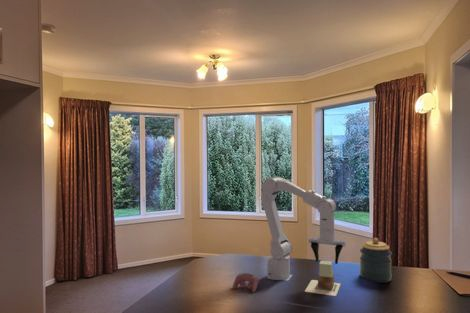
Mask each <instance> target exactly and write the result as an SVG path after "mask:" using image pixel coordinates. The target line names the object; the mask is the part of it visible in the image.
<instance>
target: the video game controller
mask: <svg viewBox="0 0 470 313" xmlns="http://www.w3.org/2000/svg"><path fill="white" fill-rule="evenodd" d="M246 282H247V284H246ZM259 282H260V281H259V278H258V277H257V276H255V275H253V274H251V273H247V272H246V273H245V272H244V273H239V274H238V275H236V277H235V279H234V281H233V285H232V289H233V290H236V289H237V288H238V286H240V288H242V289H244V288H246V287H247V289H249V290H251V292H252V293H255V292H256V291H257V287H258V284H259Z"/></svg>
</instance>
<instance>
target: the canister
mask: <svg viewBox="0 0 470 313" xmlns="http://www.w3.org/2000/svg"><path fill="white" fill-rule="evenodd" d="M361 246H362V247H361V248H360V250H359V252H360V256H359V262H360V264H359V266H360V267H359V276H360V278H361V279H364V280H366V281H369V282H374V283H379V284H386V283H390V282H391V280H392V277H393V276H392V261H393V260H392V258H391V255H392V254H393V252H392V251H391V250H390V246H389V245H388V244H387V243H386V242H383V241H380V240H379V238H378V237H374V238H372V240H367V241H365V242H364V243H362V244H361Z"/></svg>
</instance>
